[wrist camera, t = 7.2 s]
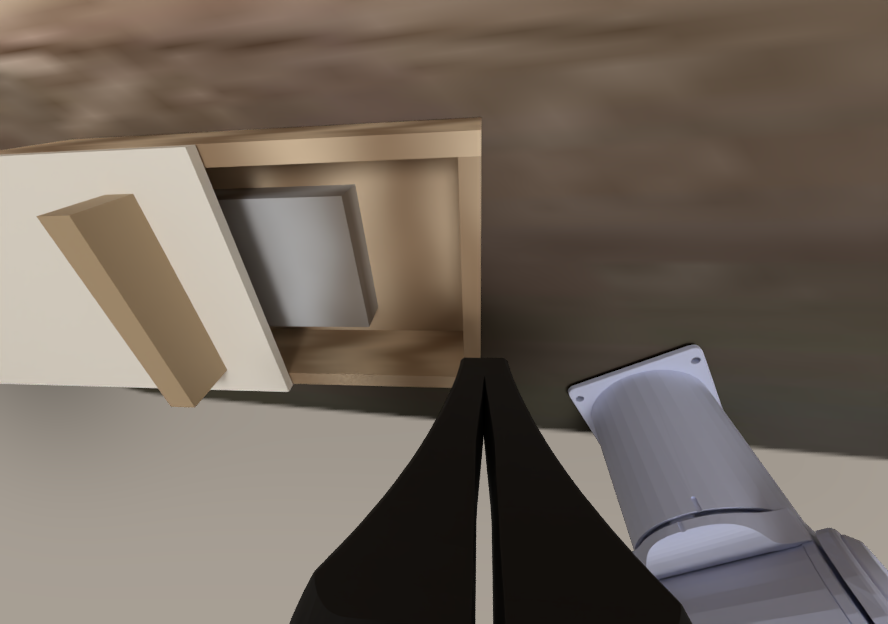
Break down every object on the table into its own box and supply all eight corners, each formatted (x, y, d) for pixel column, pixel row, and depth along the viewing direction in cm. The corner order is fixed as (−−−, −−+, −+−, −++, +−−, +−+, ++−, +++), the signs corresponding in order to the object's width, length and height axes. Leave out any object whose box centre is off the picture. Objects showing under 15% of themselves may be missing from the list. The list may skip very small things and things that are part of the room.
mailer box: (481, 117, 15) (481, 129, 12) (480, 336, 22) (480, 388, 18) (73, 138, 17) (-36, 155, 14) (185, 333, 24) (132, 379, 20)
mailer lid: (195, 144, 13) (124, 161, 10) (293, 385, 19) (265, 430, 17) (-247, 166, 15) (-395, 185, 12) (-21, 376, 21) (-87, 416, 19)
